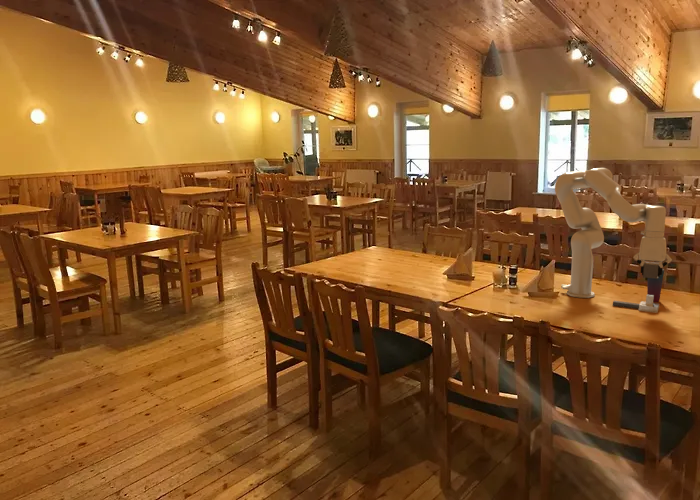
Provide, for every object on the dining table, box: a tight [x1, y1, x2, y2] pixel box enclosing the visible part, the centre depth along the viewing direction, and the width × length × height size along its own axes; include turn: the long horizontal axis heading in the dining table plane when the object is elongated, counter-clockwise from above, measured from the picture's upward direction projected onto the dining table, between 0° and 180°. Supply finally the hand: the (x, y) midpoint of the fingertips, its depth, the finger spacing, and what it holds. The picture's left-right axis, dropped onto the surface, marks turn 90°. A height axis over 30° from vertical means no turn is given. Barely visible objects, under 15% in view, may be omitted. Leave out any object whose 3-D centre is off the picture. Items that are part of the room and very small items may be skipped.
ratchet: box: [612, 294, 660, 314], centre depth 262 cm, size 18×7×6 cm, turn 57°
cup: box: [646, 268, 665, 303], centre depth 272 cm, size 7×7×15 cm
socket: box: [642, 261, 659, 279], centre depth 256 cm, size 6×6×6 cm
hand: (651, 275), depth 256 cm, fingers closed on socket, 5 cm apart
